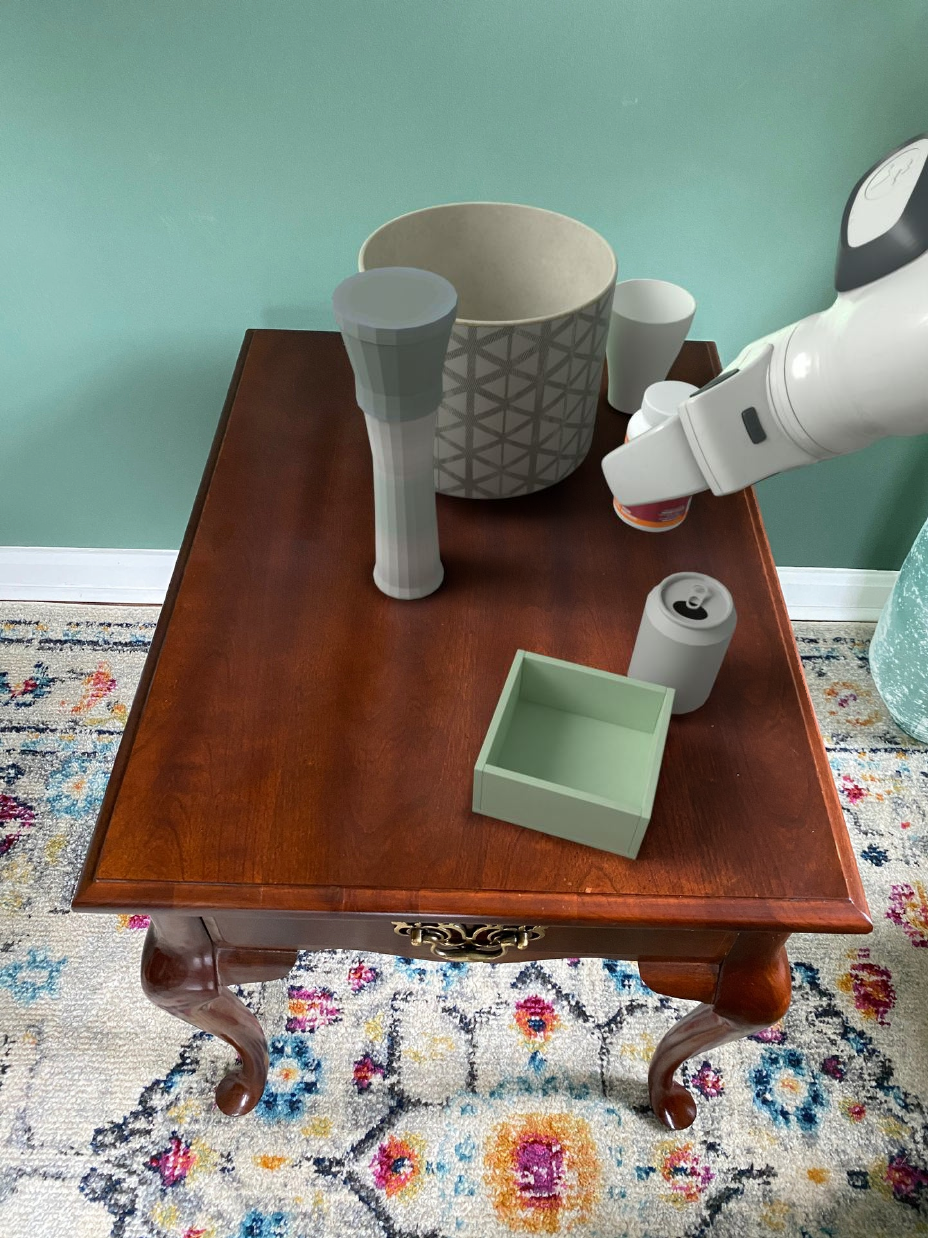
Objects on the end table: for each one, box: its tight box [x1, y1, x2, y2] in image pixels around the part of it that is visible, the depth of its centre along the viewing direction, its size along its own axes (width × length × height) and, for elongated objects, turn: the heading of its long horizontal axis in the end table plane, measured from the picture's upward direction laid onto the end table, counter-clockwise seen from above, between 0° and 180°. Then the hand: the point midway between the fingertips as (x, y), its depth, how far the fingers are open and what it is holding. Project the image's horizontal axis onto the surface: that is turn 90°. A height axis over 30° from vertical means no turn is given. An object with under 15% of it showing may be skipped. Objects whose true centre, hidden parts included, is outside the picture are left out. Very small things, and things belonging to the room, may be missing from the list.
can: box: [626, 571, 738, 715], centre depth 74 cm, size 8×8×12 cm
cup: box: [605, 278, 697, 415], centre depth 103 cm, size 10×10×14 cm
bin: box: [472, 648, 676, 860], centre depth 70 cm, size 13×12×7 cm
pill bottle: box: [612, 380, 700, 533], centre depth 67 cm, size 6×6×11 cm
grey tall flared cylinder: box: [331, 267, 458, 601], centre depth 76 cm, size 10×10×30 cm
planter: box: [358, 201, 619, 500], centre depth 92 cm, size 25×25×24 cm
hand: (656, 448), depth 67 cm, fingers closed on pill bottle, 6 cm apart
